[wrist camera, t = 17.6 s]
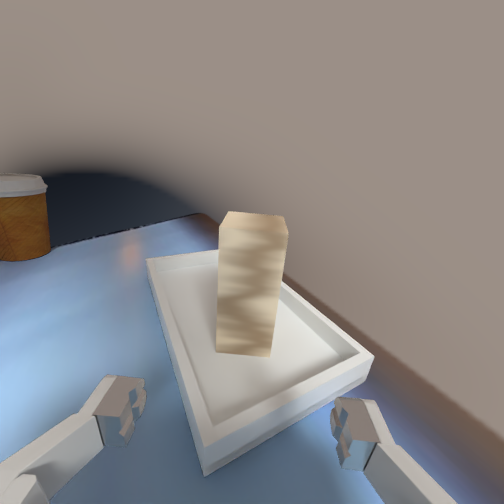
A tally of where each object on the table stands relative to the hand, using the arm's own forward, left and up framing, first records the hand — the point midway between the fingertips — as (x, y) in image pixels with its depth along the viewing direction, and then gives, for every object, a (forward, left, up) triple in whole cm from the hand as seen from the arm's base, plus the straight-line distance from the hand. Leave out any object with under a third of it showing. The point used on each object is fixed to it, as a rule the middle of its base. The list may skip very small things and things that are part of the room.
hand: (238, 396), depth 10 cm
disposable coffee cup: (-37, +27, -9) cm, 46 cm away
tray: (-2, +16, -8) cm, 18 cm away
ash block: (0, +12, -7) cm, 14 cm away
